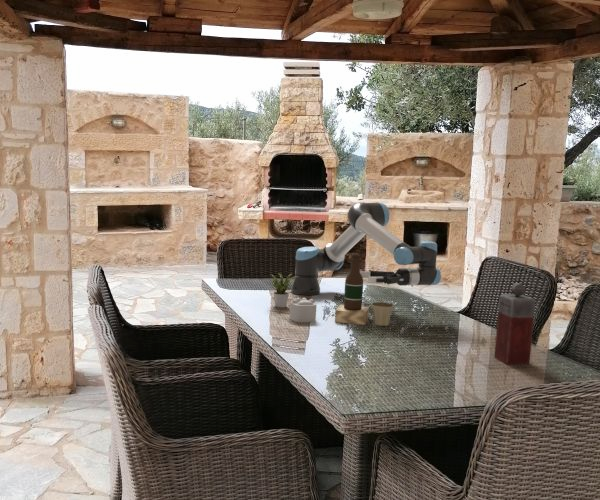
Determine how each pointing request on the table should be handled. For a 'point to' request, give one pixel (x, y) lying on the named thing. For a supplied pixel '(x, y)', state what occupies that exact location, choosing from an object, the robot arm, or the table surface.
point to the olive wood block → (352, 315)
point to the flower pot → (382, 313)
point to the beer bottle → (353, 286)
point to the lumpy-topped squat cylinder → (303, 310)
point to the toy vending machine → (514, 327)
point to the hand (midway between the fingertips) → (362, 277)
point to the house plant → (281, 291)
